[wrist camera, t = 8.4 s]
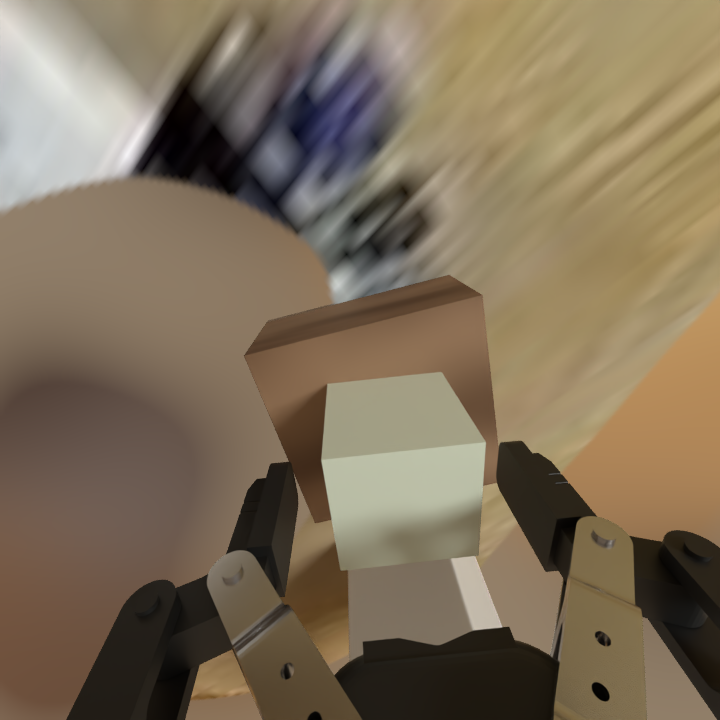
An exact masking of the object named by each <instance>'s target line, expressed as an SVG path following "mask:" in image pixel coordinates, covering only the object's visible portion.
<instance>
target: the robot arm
mask: <svg viewBox="0 0 720 720" xmlns="http://www.w3.org/2000/svg"><path fill="white" fill-rule="evenodd" d="M496 479H497V484H498V487H499V490H500V492H501V493H502V495H503V497H504V499H505V501H506V502H507V504H508V506H509V508H510V509H511V511H512V513H513V515H514V516H515V518H516V520H517V522H518V524H519V525H520V527H521V529H522V531H523V532H524V534H525V536H526V538H527V539H528V541H529V543H530V545H531V546H532V548H533V550H534V552H535V554H536V555H537V557H538V559H539V561H540V563H541V564H542V566H543V568H544V570H545V571H546V572H548V571H559V572H560V574H561V575H562V577H563V581H562V585H561V592H560V598H559V605H558V612H557V618H556V625H555V631H554V638H553V643H552V649H551V653H550V655H548V654H547V653H545V652H543V651H541V650H540V649H538V648H535V647H533V646H531V645H529V644H526V643H523V642H520V641H516V640H514V638H513V635H512V633H511V630H510V628H509V627H501V628H491V629H482V630H473V631H471V632H468V633H466V634H464V635H462V636H460V637H457V638H455V639H453V640H451V641H448V642H446V643H444V644H441V645H432V644H427V643H422V642H417V641H412V640H407V639H402V638H393V639H383V640H373V641H363V655H361V656H359V657H356V658H355V659H353V660H352V661H350V662H348V663H347V664H346V665H345V666H344V667H342V668H341V669H340V670H339V671H338V672H337V673H336V674H335V675H334V674H333V673H332V671H331V670H330V668H329V666H328V665H327V663H326V662H325V660H324V659H323V657H322V655H321V654H320V652H319V651H318V649H317V648H316V646H315V644H314V643H313V641H312V640H311V638H310V636H309V635H308V633H307V632H306V630H305V629H304V627H303V625H302V624H301V622H300V621H299V619H298V617H297V616H296V614H295V613H294V611H293V610H292V608H291V607H290V606H289V605H288V604H287V605H284V603H283V602H282V600H281V599H280V597H285V592H286V585H287V578H288V572H289V565H290V558H291V551H292V544H293V538H294V531H295V523H296V517H297V511H298V493H297V488H296V483H295V478H294V473H293V468H292V464H291V462H283V463H272V464H271V465H270V466H269V470H268V474H267V477H266V478H262V479H257V480H256V481H255V482H254V483H253V484H252V485H251V487H250V488H249V489H248V491H247V494H246V497H245V500H244V504H243V506H242V509H241V514H240V515H239V518H238V521H237V524H236V527H235V530H234V533H233V536H232V538H231V541H230V544H229V547H228V550H227V553H226V555H225V556H223V557H222V558H220V559H219V560H218V561H217V562H216V563H215V564H214V565H213V567H212V568H211V570H210V572H209V574H207V575H206V576H204V577H202V578H200V579H197V580H195V581H192V582H190V583H187V584H185V585H182V586H180V587H177V588H175V586H174V585H173V583H172V582H170V581H168V580H157V581H153V582H151V583H148V584H146V585H144V586H143V587H141V588H140V589H138V590H137V591H136V592H135V593H134V594H133V595H131V597H130V598H129V599H128V600H127V601H126V603H125V604H124V605H123V607H122V609H121V611H120V613H119V615H118V617H117V619H116V621H115V623H114V625H113V627H112V629H111V631H110V633H109V635H108V637H107V639H106V641H105V643H104V645H103V647H102V649H101V651H100V653H99V655H98V657H97V659H96V661H95V663H94V665H93V667H92V669H91V671H90V673H89V675H88V677H87V679H86V681H85V683H84V685H83V687H82V689H81V691H80V693H79V695H78V697H77V699H76V701H75V703H74V705H73V708H72V709H71V712H70V713H69V715H68V717H67V720H185V718H186V713H187V710H188V706H189V703H190V699H191V695H192V691H193V687H194V684H195V680H196V676H197V672H198V668H199V665H200V664H202V663H204V662H206V661H208V660H210V659H212V658H215V657H217V656H219V655H221V654H223V653H225V652H227V651H229V650H231V649H232V650H233V652H234V654H235V657H236V659H237V661H238V664H239V666H240V668H241V671H242V673H243V675H244V678H245V680H246V682H247V685H248V687H249V689H250V692H251V694H252V697H253V699H254V701H255V703H256V706H257V708H258V710H259V713H260V715H261V718H262V720H647V710H646V709H647V708H646V686H645V666H644V644H643V623H642V622H643V621H642V617H645V618H648V620H649V621H650V622H651V624H652V626H653V627H654V629H655V630H656V631H657V633H658V634H659V636H660V637H661V639H662V640H663V642H664V643H665V644H666V646H667V647H668V649H669V650H670V652H671V653H672V655H673V656H674V658H675V659H676V660H677V662H678V663H679V665H680V666H681V668H682V669H683V670H684V672H685V673H686V675H687V676H688V678H689V679H690V681H691V682H692V684H693V685H694V686H695V688H696V689H697V691H698V692H699V694H700V695H701V697H702V698H703V700H704V701H705V702H706V704H707V705H708V707H709V708H710V710H711V711H712V713H713V714H714V716H715V717H716V718H717V720H720V548H719V547H718V546H716V545H715V544H714V543H712V542H711V541H709V540H707V539H705V538H703V537H701V536H699V535H696V534H694V533H691V532H687V531H680V530H676V531H671V532H668V533H667V534H666V535H665V537H664V539H663V541H662V542H660V541H654V540H648V539H643V538H637V537H632V536H629V535H628V534H627V533H626V532H625V531H624V530H623V529H622V528H621V527H619V526H618V525H616V524H615V523H612V522H611V521H609V520H606V519H604V518H600V517H597V516H596V515H595V513H594V512H593V511H592V510H591V509H590V507H589V506H588V505H587V504H586V503H585V502H584V500H583V499H582V498H581V497H580V495H579V494H578V493H577V492H576V491H575V490H574V488H573V487H572V486H571V485H570V484H568V481H567V480H566V479H565V478H564V476H563V475H561V474H560V471H559V470H558V469H557V468H556V467H555V465H554V464H553V463H552V462H551V461H550V460H548V459H547V458H545V457H544V456H542V455H541V454H539V453H533V454H532V452H531V451H530V450H529V449H528V447H527V446H526V445H525V444H524V442H522V441H512V442H502V443H500V445H499V451H498V461H497V470H496Z"/></svg>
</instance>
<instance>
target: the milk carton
mask: <svg viewBox="0 0 720 720" xmlns="http://www.w3.org/2000/svg"><path fill="white" fill-rule="evenodd" d="M348 612H349V662H350V661H352V660H353V659H355V658H356V657H359V656H361V655H363V641H373V640H383V639H393V638H402V639H407V640H412V641H417V642H422V643H427V644H432V645H441V644H444V643H446V642H448V641H451V640H453V639H455V638H457V637H460V636H462V635H464V634H466V633H468V632H471V631H473V630H482V629H491V628H501V627H502V625H501V622H500V620H499V617H498V615H497V612H496V609H495V607H494V604H493V602H492V599H491V597H490V594H489V591H488V589H487V586H486V584H485V581H484V578H483V576H482V573H481V570H480V568H479V565H478V563H477V560H476V558H475V556H470V557H461V558H452V559H443V560H434V561H425V562H416V563H407V564H398V565H389V566H380V567H371V568H362V569H353V570H348Z"/></svg>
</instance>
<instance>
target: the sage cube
mask: <svg viewBox="0 0 720 720" xmlns="http://www.w3.org/2000/svg"><path fill="white" fill-rule="evenodd" d="M485 448H486V442H485V440H484V438H483V437H482V435H481V434H480V432H479V430H478V429H477V427H476V426H475V424H474V423H473V421H472V419H471V418H470V416H469V415H468V413H467V411H466V410H465V408H464V407H463V405H462V404H461V402H460V400H459V399H458V397H457V396H456V394H455V392H454V391H453V389H452V388H451V386H450V385H449V383H448V381H447V380H446V378H445V377H444V375H443V373H442V372H435V373H425V374H416V375H406V376H397V377H387V378H378V379H369V380H359V381H350V382H340V383H331V384H327V395H326V408H325V420H324V433H323V445H322V458H321V461H322V467H323V473H324V478H325V484H326V490H327V496H328V502H329V507H330V513H331V519H332V525H333V531H334V536H335V542H336V548H337V554H338V560H339V565H340V571H344V570H353V569H362V568H371V567H380V566H389V565H398V564H407V563H416V562H425V561H434V560H443V559H452V558H461V557H470V556H478V555H479V540H480V524H481V509H482V494H483V478H484V463H485Z"/></svg>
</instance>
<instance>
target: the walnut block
mask: <svg viewBox="0 0 720 720" xmlns="http://www.w3.org/2000/svg"><path fill="white" fill-rule="evenodd" d="M244 357H245V359H246V361H247V364H248V366H249V368H250V371H251V373H252V375H253V378H254V380H255V383H256V385H257V387H258V390H259V392H260V394H261V397H262V399H263V401H264V404H265V406H266V409H267V411H268V413H269V416H270V418H271V420H272V423H273V425H274V427H275V430H276V432H277V434H278V437H279V439H280V441H281V444H282V446H283V449H284V451H285V453H286V455H287V458H288V460H289V462H291V464H292V468H293V472H294V474H295V477H296V479H297V481H298V484H299V486H300V488H301V491H302V493H303V496H304V498H305V500H306V503H307V505H308V507H309V510H310V512H311V514H312V517H313V519H314V522H315V523H319V522H323V521H328V520H332V519H331V513H330V507H329V502H328V496H327V490H326V484H325V478H324V473H323V467H322V461H321V458H322V445H323V433H324V420H325V408H326V395H327V384H331V383H340V382H350V381H359V380H369V379H378V378H387V377H397V376H406V375H416V374H425V373H435V372H442V373H443V375H444V377H445V378H446V380H447V381H448V383H449V385H450V386H451V388H452V389H453V391H454V392H455V394H456V396H457V397H458V399H459V400H460V402H461V404H462V405H463V407H464V408H465V410H466V411H467V413H468V415H469V416H470V418H471V419H472V421H473V423H474V424H475V426H476V427H477V429H478V430H479V432H480V434H481V435H482V437H483V438H484V440H485V442H486V448H485V463H484V478H483V486H484V485H489V484H493V483H497V479H496V470H497V461H498V451H499V448H498V439H497V429H496V420H495V410H494V401H493V391H492V382H491V372H490V363H489V353H488V344H487V334H486V325H485V315H484V306H483V296H482V295H481V294H480V293H478V292H476V291H475V290H473V289H471V288H470V287H468V286H466V285H465V284H463V283H461V282H460V281H458V280H456V279H455V278H453V277H451V276H450V275H447V276H443V277H439V278H436V279H432V280H428V281H424V282H420V283H416V284H413V285H409V286H405V287H401V288H397V289H393V290H389V291H386V292H382V293H378V294H374V295H370V296H366V297H362V298H359V299H355V300H351V301H347V302H343V303H339V304H336V305H334V303H333V304H330V305H326V306H322V307H318V308H314V309H310V310H307V311H303V312H299V313H295V314H291V315H287V316H283V317H280V318H276V319H272V320H268V321H267V323H266V324H265V326H264V327H263V329H262V330H261V332H260V333H259V335H258V336H257V338H256V339H255V340H254V342H253V344H252V345H251V346H250V348H249V349H248V351H247V352H246V354H245V355H244Z"/></svg>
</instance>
